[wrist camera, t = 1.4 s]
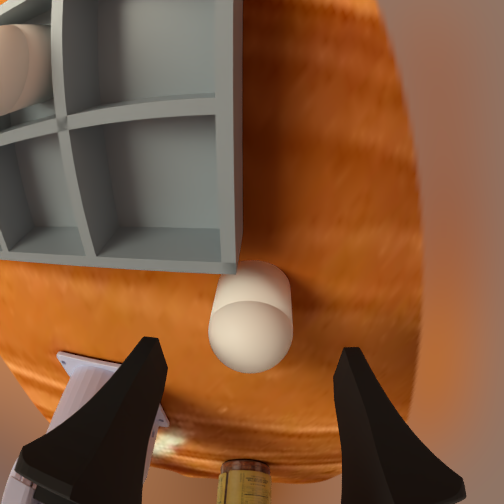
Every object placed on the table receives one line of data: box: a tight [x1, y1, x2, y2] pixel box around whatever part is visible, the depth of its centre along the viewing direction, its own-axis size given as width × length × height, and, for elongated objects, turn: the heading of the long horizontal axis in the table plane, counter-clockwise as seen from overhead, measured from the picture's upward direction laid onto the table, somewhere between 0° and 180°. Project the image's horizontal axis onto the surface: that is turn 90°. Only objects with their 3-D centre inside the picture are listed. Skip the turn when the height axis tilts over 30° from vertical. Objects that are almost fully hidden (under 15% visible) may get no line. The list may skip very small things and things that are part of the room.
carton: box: [0, 0, 243, 275], centre depth 9 cm, size 12×17×3 cm
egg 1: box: [0, 24, 54, 116], centre depth 7 cm, size 4×4×5 cm
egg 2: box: [208, 260, 293, 373], centre depth 13 cm, size 4×4×5 cm
